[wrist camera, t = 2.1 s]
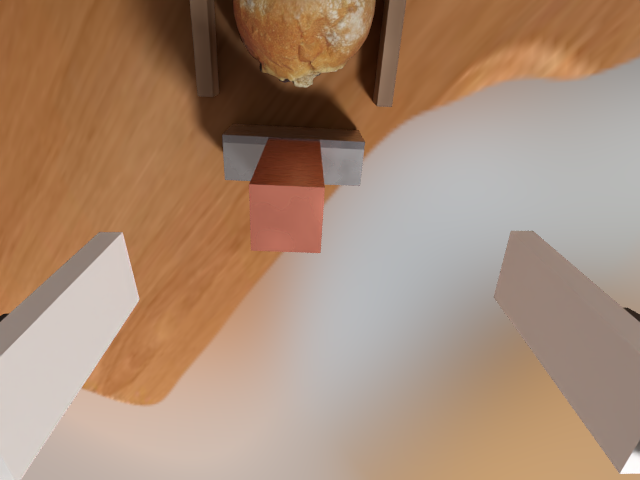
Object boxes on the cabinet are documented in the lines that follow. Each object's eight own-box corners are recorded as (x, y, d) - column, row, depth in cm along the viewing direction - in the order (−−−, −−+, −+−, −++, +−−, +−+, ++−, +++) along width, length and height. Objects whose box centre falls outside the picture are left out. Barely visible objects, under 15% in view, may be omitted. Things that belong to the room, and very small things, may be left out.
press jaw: (234, 169, 35) (189, 248, 22) (232, 123, 34) (181, 179, 20) (354, 175, 36) (380, 255, 23) (358, 130, 34) (389, 188, 21)
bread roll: (377, 1, 32) (422, -57, 24) (322, 114, 32) (349, 94, 24) (267, -74, 29) (279, -165, 22) (209, 50, 30) (200, 4, 22)
